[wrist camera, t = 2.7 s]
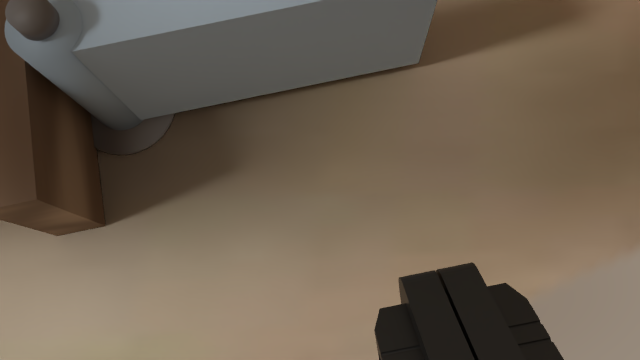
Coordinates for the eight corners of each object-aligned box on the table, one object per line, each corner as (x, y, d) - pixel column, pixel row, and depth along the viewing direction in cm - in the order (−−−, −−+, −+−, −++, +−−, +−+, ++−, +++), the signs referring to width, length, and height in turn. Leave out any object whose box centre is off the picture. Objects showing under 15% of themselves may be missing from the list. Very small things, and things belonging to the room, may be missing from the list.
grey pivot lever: (98, 135, 27) (7, 66, 19) (92, 84, 27) (1, -2, 20) (418, 69, 27) (447, -23, 20) (405, 19, 27) (428, -88, 20)
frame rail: (57, 236, 26) (-84, 195, 17) (28, -68, 30) (-99, -223, 21) (192, 207, 26) (119, 154, 17) (147, -92, 30) (67, -257, 21)
